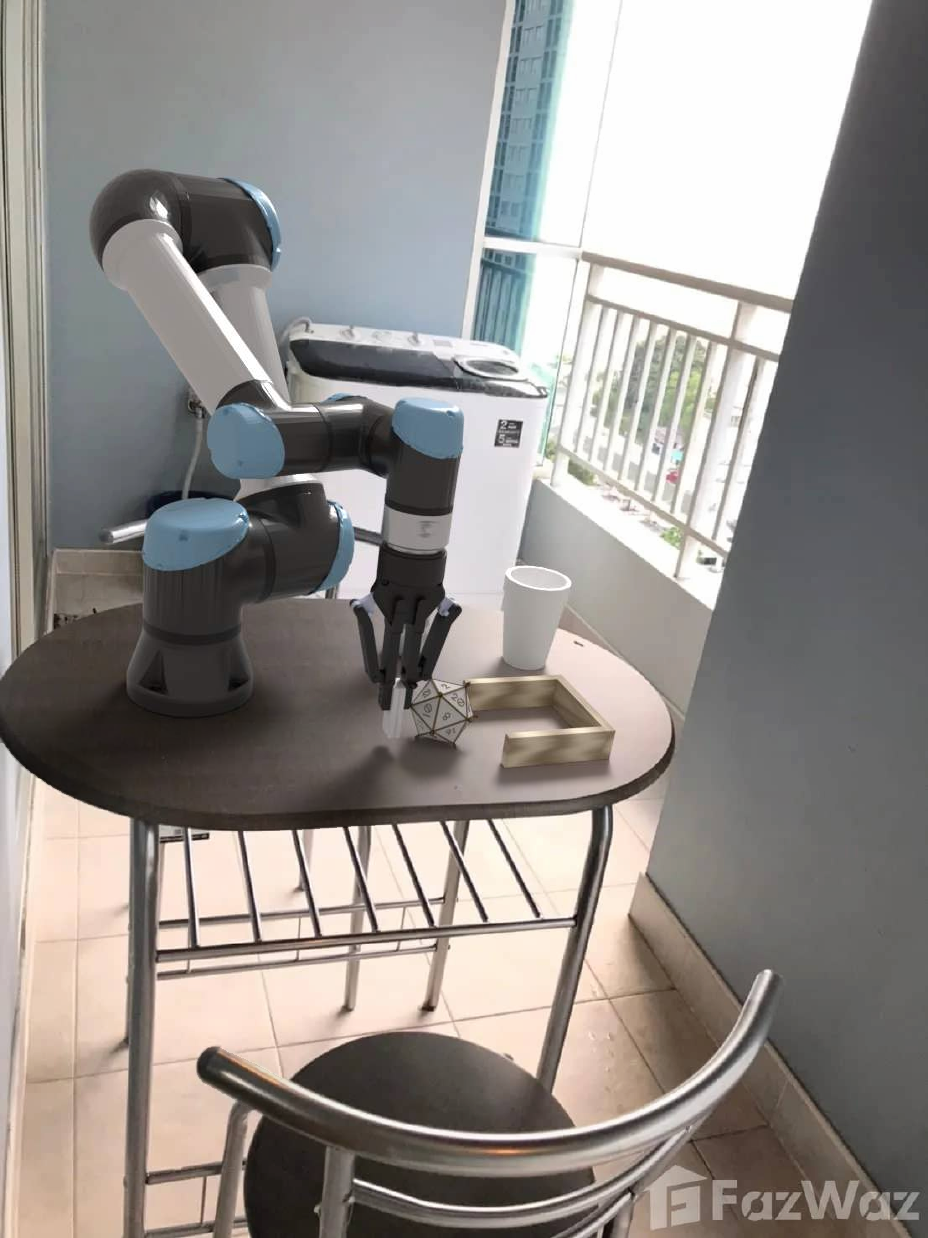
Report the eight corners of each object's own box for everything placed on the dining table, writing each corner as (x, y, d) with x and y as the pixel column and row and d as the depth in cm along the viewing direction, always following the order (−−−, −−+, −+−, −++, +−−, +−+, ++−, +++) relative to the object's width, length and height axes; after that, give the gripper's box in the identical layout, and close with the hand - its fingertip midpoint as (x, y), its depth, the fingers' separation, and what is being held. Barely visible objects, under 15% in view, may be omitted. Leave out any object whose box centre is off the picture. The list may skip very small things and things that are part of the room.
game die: (446, 762, 125) (502, 704, 124) (433, 772, 117) (492, 710, 116) (395, 711, 126) (450, 653, 125) (379, 717, 118) (437, 656, 117)
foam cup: (551, 680, 142) (567, 595, 137) (487, 666, 144) (501, 582, 139) (558, 654, 151) (574, 573, 146) (498, 641, 152) (511, 561, 147)
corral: (504, 767, 118) (509, 738, 117) (459, 706, 131) (463, 679, 130) (609, 758, 124) (615, 730, 122) (556, 701, 136) (561, 674, 135)
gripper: (366, 554, 105) (345, 752, 113) (480, 555, 110) (452, 745, 118) (348, 531, 111) (330, 720, 120) (457, 533, 116) (432, 714, 125)
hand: (391, 732), depth 119 cm, fingers closed
